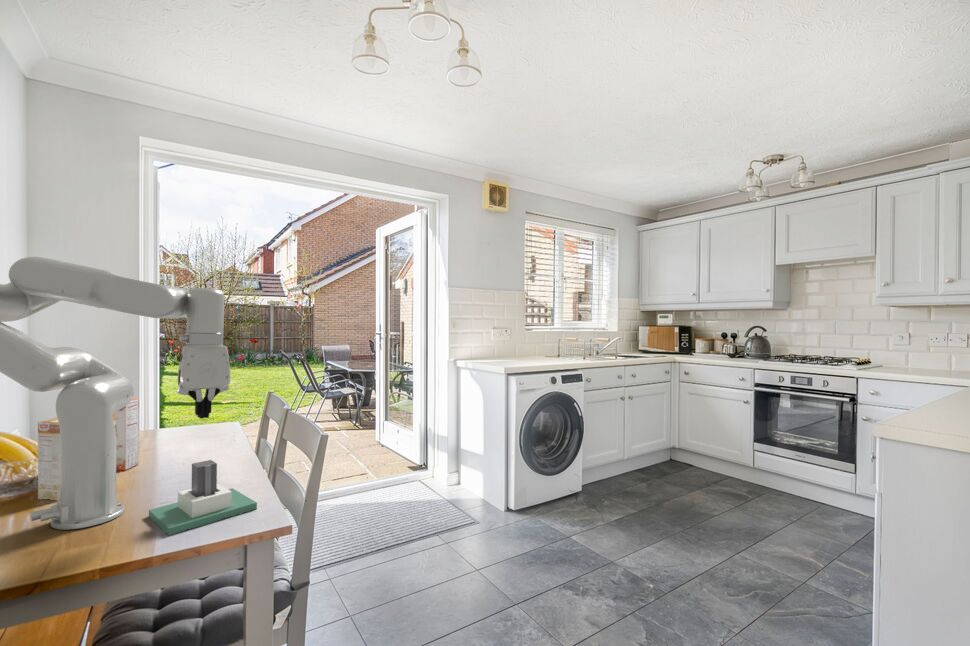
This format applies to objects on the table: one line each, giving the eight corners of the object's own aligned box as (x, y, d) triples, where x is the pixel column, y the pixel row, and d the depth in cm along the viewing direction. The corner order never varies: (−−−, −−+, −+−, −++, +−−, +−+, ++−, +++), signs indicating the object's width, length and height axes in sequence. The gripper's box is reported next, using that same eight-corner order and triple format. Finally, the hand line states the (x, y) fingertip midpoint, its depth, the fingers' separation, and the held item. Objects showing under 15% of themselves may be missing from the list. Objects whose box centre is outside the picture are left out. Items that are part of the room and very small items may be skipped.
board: (169, 535, 96) (169, 528, 96) (148, 516, 105) (148, 509, 105) (256, 508, 110) (256, 502, 110) (232, 493, 119) (232, 488, 119)
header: (192, 518, 101) (192, 502, 101) (177, 506, 107) (178, 491, 107) (231, 506, 108) (231, 491, 108) (216, 496, 113) (216, 482, 113)
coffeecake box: (93, 478, 129) (94, 409, 128) (116, 480, 128) (117, 410, 128) (35, 499, 114) (36, 420, 114) (61, 501, 113) (61, 422, 113)
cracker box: (75, 471, 134) (75, 400, 134) (92, 465, 140) (92, 396, 140) (124, 471, 135) (124, 400, 134) (139, 465, 141) (139, 396, 140)
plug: (198, 512, 104) (198, 468, 104) (191, 506, 107) (191, 463, 107) (217, 506, 107) (217, 464, 107) (210, 501, 110) (210, 459, 110)
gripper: (172, 341, 102) (170, 424, 102) (244, 340, 113) (242, 415, 113) (163, 340, 107) (161, 419, 107) (232, 339, 118) (230, 410, 118)
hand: (203, 417), depth 110 cm, fingers closed
